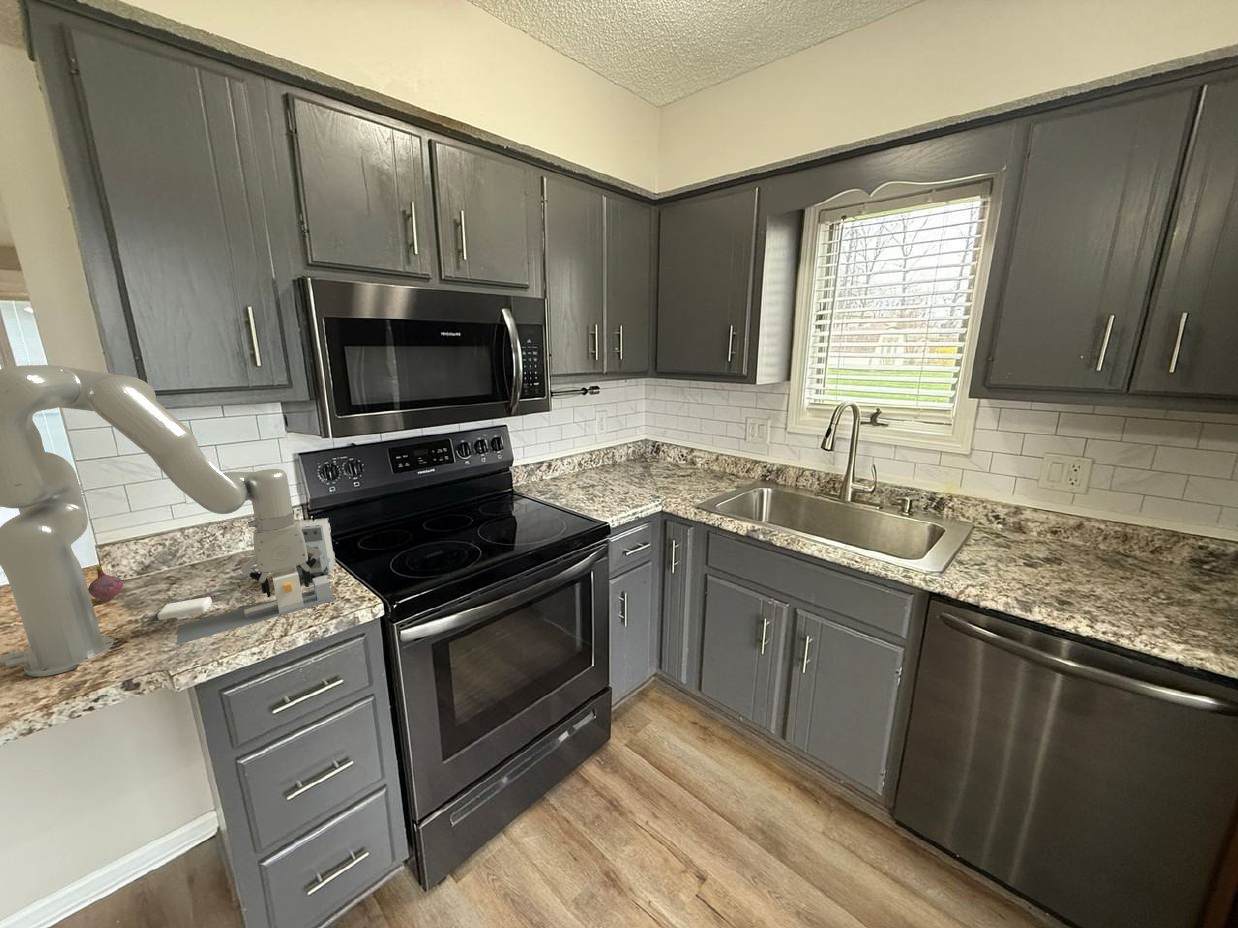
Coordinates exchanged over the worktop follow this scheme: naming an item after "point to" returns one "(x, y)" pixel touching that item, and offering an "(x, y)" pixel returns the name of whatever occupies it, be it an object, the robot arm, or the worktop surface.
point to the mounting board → (233, 621)
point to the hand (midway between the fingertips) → (288, 589)
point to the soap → (185, 608)
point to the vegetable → (105, 586)
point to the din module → (287, 589)
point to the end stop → (322, 587)
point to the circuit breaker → (318, 545)
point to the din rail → (274, 605)
